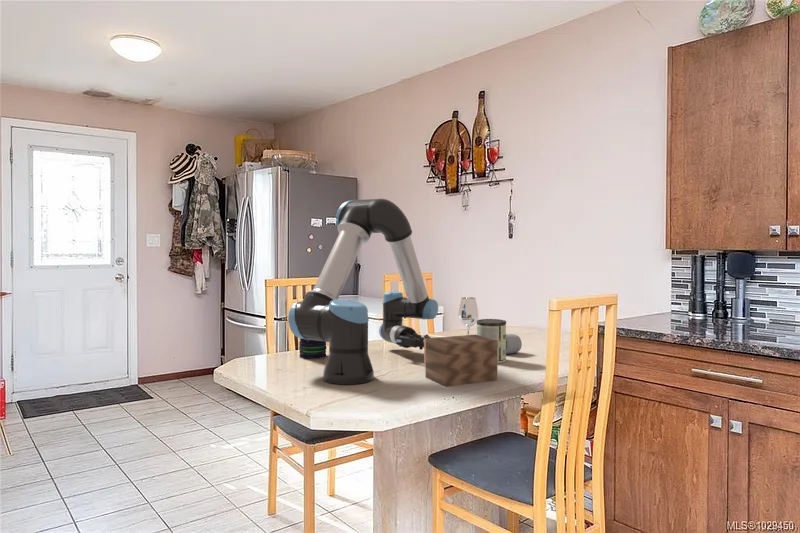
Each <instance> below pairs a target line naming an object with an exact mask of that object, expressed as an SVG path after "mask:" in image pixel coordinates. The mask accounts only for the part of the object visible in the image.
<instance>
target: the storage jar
mask: <svg viewBox="0 0 800 533" xmlns="http://www.w3.org/2000/svg"><path fill="white" fill-rule="evenodd" d="M298 346H299V347H298V349H299V350H298V351H299V358H300V359H304V360H317V359H318V360H319V359H325V358H326V357H327V342H325V341H315V340H305V339H302V338H299V345H298Z"/></svg>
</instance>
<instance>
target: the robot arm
mask: <svg viewBox="0 0 800 533" xmlns="http://www.w3.org/2000/svg"><path fill="white" fill-rule="evenodd" d="M335 215H336V216H335V217H336V219H335V223H336V226H337V232H338V236H337V237H336V240H335V242H334V244H333V247H332V248H331V251H330V252H329V255H328V257H327V259H326V262H325V263H324V265H323V268H322V270H321V272H320V274H319V277H318V279H317V280H316V283H315V284H314V287H313V289H311V290H308V291H307V292H305V296H304V297H303V299H302V301H297V302H294V303H293V304H292V305H291V307H290V309H289V311H288V315H287V319H288V320H287V321H288V324H289V325H288V326H289V329H290V331H291V333H292V334H293V335H294V336H295V337H296V338H299V339H300V338H302V339H305V340H315V341H325V342H326V343H328V345H329V346H328V347H329V352H328V356H327V360H326V362H325V366H324V369H323V374H322V375H323V376H322V377H323V378H322V379H323V381H325V382H327V383H331V384H334V385H335V384H336V385H359V384H364V383H365V384H366V383H369V382H371V381H373V380H374V378H375V376H374V375H375V374H374V373H375V372H374V368H373V365H372V362H371V359H370V355H369V310H368V307H367V306H366V304H364V303H363V302H359V301H355V300H349V299H348V300H346V299H339V298H340V296H341V293H342V291H343V289H344V286H345V285H346V281H347V280H348V277H349V276H350V273H351V271H352V269H353V266H354V263H355V261H356V259H357V257H358V254H359V252H360V250H361V248H362V245H363V244H367V243H368V242H369V240H370V239H371V236H372V234H377V233H378V234H380V233H381V234H382V235H384V236H383V237H384V240H385V241H386V242H387V243H389V245H390V249H391V251H392V254H393V258H394V261H395V265H396V266H397V269H398V274H399V276H400V279H401V282H402V285H403V288H404V292H405V294H406V297H404V295H403V292H401V291H386V292H384V293H383V300H382V323H381V324H380V326H379V327H378V328H379V330H378V333H379V336H380V338H381V339H383V340H384V341H386V342H387V343H392V344H394V345H396V346H397V345H398V347H400V348H401V347H402V348H405V349H408V348H415V349H416V348H419V350H420V351H421V350H423V351H424V339H426V338H432V337H431V336H430V335H429V334H425V335H423V336H422V335H421V334H418V333H417V331H416V330H415V329H414V328H413V327H409V326H407V325H403V318H405V319H406V318H408V319H416V320H417V319H418V320H434V319H436V317H437V315H438V312H439V304H438V302H437V300H435V299H433V298H430V297H429V295H428V291H427V287H426V284H425V281H424V277H423V274H422V270H421V268H420V264H419V260H418V258H417V255H416V254H417V253H416V251H415V247H414V245H413V240H412V237H411V236H412V234H413V230H412V227H411V224H410V222H409V219H408V218H407V216H406V215H405V213H404V212H403V210H402V209H401V208H400V207H399V206H398V205H396V204H395V203H394V202H392V201H391V200H389V199H387V198H373V199H372V198H369V199H352V200H346V201H345V202H343V203H342V204H341V205H340V206H339V208H338V209H337V212H336V214H335Z"/></svg>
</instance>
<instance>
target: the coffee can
mask: <svg viewBox="0 0 800 533" xmlns="http://www.w3.org/2000/svg"><path fill="white" fill-rule="evenodd" d="M506 334H507V320H505V319H498V318H497V319H496V318H484V319H483V318H481V319H478V320H477V322H476V335H479V336H483V337H487V338H491V339H494V340H498V359H497V364H503V363H505V362H507V358H506V357H507V354H506Z"/></svg>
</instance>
